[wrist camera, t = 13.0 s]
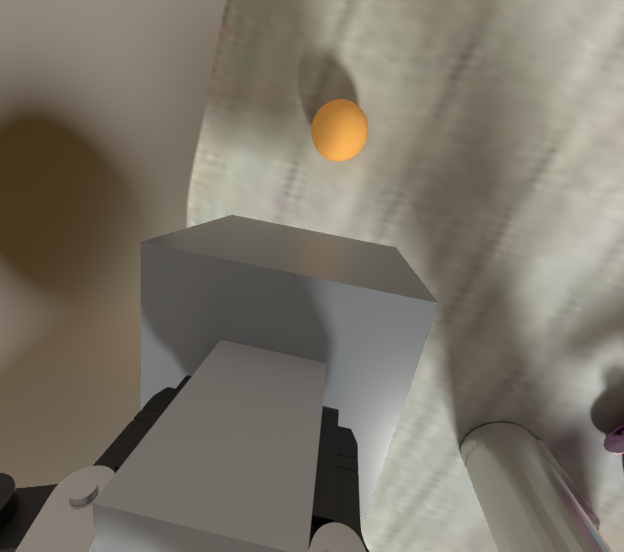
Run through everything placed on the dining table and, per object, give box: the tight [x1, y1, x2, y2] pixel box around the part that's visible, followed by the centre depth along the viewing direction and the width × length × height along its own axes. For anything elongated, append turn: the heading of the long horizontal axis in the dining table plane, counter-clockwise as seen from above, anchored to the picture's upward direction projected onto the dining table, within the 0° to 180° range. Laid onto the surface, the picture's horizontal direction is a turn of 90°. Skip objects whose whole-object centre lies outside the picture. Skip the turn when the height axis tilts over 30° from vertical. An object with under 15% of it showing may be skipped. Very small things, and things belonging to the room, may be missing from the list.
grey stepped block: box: [92, 215, 438, 552], centre depth 13 cm, size 10×10×15 cm
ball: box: [311, 99, 368, 161], centre depth 27 cm, size 5×5×5 cm
